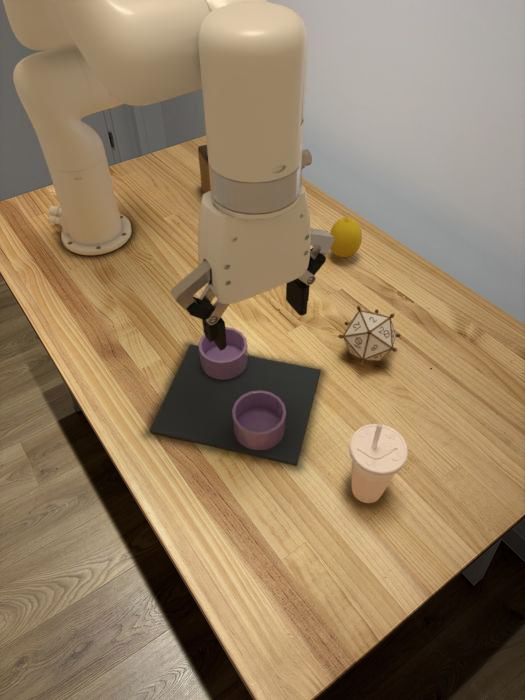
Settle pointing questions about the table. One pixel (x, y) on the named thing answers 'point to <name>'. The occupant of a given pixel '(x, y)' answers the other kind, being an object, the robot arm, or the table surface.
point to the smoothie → (375, 460)
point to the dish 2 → (259, 420)
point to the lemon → (346, 237)
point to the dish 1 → (224, 356)
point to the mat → (220, 396)
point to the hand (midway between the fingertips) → (257, 323)
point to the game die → (370, 336)
